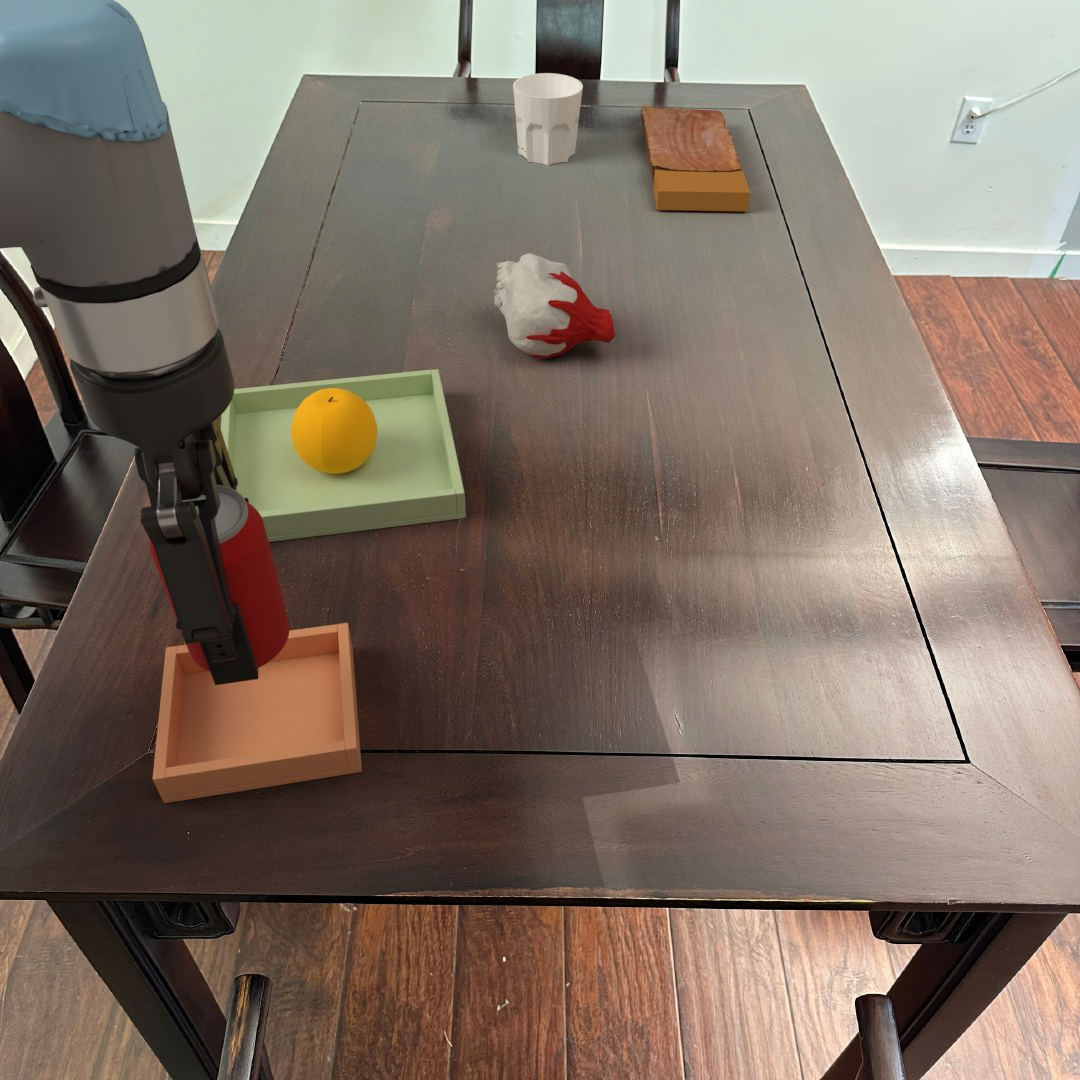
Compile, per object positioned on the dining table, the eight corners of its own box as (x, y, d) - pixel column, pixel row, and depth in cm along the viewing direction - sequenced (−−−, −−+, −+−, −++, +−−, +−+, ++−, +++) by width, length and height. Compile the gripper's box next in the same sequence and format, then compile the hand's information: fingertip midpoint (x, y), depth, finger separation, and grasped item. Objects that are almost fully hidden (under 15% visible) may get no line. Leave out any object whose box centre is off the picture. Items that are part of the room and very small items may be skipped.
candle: (494, 305, 113) (617, 336, 112) (467, 356, 105) (600, 390, 104) (502, 234, 107) (633, 267, 106) (475, 284, 99) (616, 319, 98)
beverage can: (292, 600, 68) (260, 471, 60) (291, 675, 64) (256, 546, 55) (194, 611, 68) (148, 482, 59) (186, 689, 63) (134, 559, 54)
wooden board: (653, 212, 132) (655, 188, 130) (638, 126, 154) (640, 105, 152) (748, 213, 132) (752, 190, 130) (720, 128, 154) (723, 106, 152)
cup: (588, 146, 148) (592, 79, 141) (566, 172, 141) (569, 102, 134) (528, 136, 150) (528, 69, 143) (503, 161, 144) (502, 92, 137)
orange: (328, 425, 96) (317, 362, 91) (396, 447, 94) (389, 383, 89) (280, 472, 91) (265, 407, 86) (350, 496, 89) (340, 432, 84)
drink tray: (164, 803, 67) (152, 779, 65) (176, 672, 75) (165, 647, 73) (362, 772, 69) (356, 747, 67) (352, 647, 77) (347, 622, 75)
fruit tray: (222, 548, 85) (214, 522, 83) (229, 415, 98) (223, 390, 96) (466, 518, 88) (464, 492, 86) (440, 393, 102) (438, 368, 100)
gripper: (92, 253, 55) (189, 540, 71) (32, 473, 41) (169, 767, 58) (227, 242, 56) (293, 527, 72) (212, 453, 43) (297, 747, 59)
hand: (238, 633), depth 65 cm, fingers closed on beverage can, 7 cm apart
